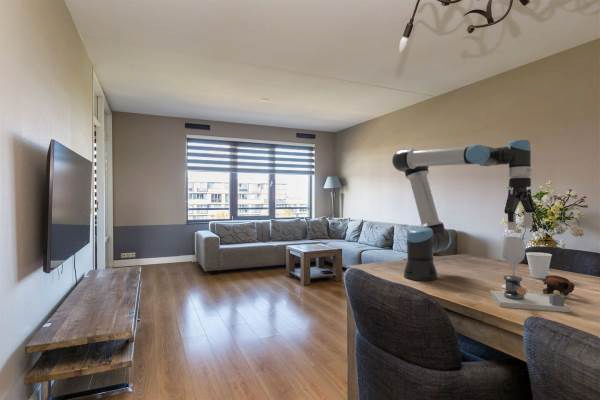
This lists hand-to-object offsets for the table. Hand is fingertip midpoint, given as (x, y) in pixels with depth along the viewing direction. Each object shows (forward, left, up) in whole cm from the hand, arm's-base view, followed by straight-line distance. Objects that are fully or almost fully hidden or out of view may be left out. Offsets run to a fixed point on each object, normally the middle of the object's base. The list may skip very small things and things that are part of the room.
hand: (520, 229), depth 135 cm
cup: (+13, +22, -25) cm, 35 cm away
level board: (-4, -21, -24) cm, 33 cm away
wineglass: (-3, -1, -25) cm, 25 cm away
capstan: (-8, -24, -23) cm, 34 cm away
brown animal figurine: (+10, -7, -25) cm, 28 cm away
